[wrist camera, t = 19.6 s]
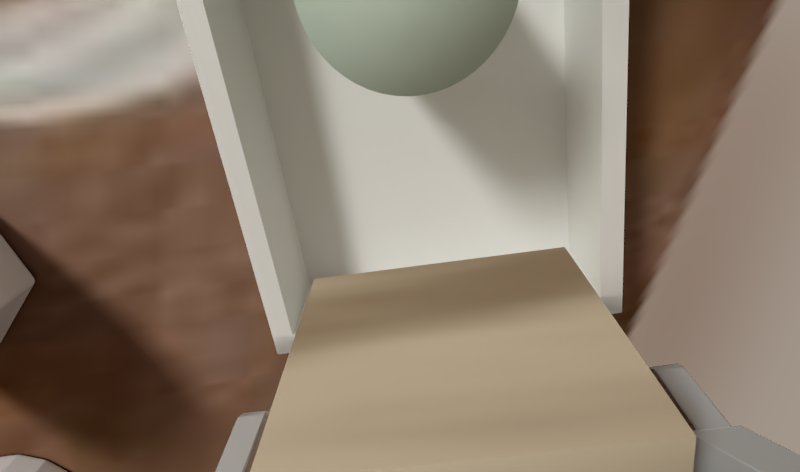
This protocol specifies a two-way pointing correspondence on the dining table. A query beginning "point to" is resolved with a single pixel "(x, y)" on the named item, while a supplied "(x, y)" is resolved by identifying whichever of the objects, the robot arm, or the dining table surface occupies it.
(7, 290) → the jar
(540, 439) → the beech cube
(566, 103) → the tote
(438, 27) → the sage cylinder
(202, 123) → the dining table surface
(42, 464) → the white cup
